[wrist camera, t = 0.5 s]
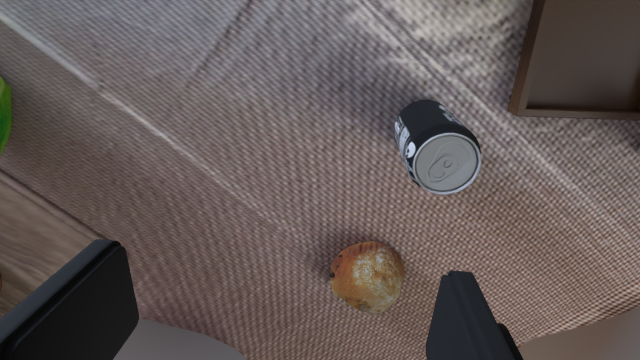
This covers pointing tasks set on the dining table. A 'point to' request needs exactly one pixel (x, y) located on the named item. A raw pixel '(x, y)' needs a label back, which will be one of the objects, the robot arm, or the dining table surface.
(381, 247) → the bread roll
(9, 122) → the lettuce
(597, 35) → the tray
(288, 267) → the dining table surface
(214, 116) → the dining table surface
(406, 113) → the beverage can
